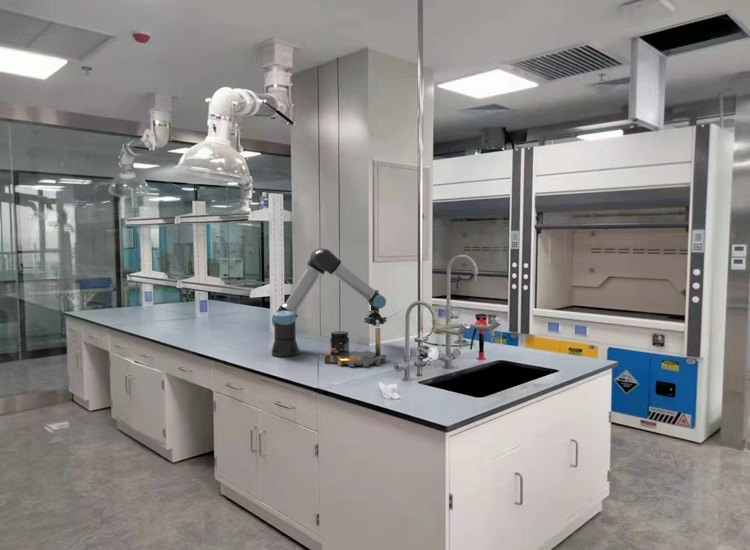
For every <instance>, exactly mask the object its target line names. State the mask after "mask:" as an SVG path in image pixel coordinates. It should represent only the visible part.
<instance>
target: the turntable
mask: <svg viewBox="0 0 750 550" xmlns="http://www.w3.org/2000/svg"><path fill="white" fill-rule="evenodd" d="M374 331H375V332H374V335H375V351H374V352H371V351H370V350H368V351H367V350H364V351H357V350H355V351H354V350H353V351H352V350H351V352H350V351H349V353H345V352H343V353H340V355H333V357H332V362H333V364H337V366H338V365H339V366H348V367H351V368H352V367H353V368H354V367H358V366H359V367H363V368H365V367H366V368H367V367H369V366H380V365H381V363H386V362H387V355H386V354H381V327H375V330H374Z"/></svg>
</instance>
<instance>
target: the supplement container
mask: <svg viewBox="0 0 750 550" xmlns="http://www.w3.org/2000/svg"><path fill="white" fill-rule="evenodd" d="M330 336H331V337H330V339H329V340H330V341H329V342H330V347H329V348H330V352H329V354H331V355H332V356H334V355H340V353H343V352H345V353H349V352H350V337H349V332H348V331H344V330H343V331H342V330H341V331H339V330H337V331H331V332H330Z"/></svg>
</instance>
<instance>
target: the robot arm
mask: <svg viewBox="0 0 750 550" xmlns="http://www.w3.org/2000/svg"><path fill="white" fill-rule="evenodd" d="M309 257H310V258H309V259H308V261H307V262H306V264H305V265H306V266H305V267H306V269H305V270H304V272H303V274H302V275H301V277H300V279H299V281H298V282H297V284H296V285H295V287H294V288H293V290H292V291H291V293H290V295H289V296H288V298H287V299H286V301H285V303H283V304H281V305H280V306H279V307H278V309H277V311H275V312H274V314H272V315H273V316H272V317H271V323H272V327H273V328H274V329H273V331H274V332H273V333H274V335H273V336H274V341H273V344H272V347H271V356H272V355H274V356H273V357H276V356H285V357H284V358H287V357H286V356H290V357H294V356H295V357H296V356H298V355H300V348H299V345H298V342H297V339H296V338H297V335H296V332H297V331H296V319H298V317H299V310H300V309H301V307H302V305H303V303H304V302H305V300H306V298H307V297H308V295H309V294H310V292H311V291H312V290H313V287H314V285H315V284H316V283H317V281H318V279H319V277H321V276H324V274H325V273H328V274H329V275H331V276H335V277H336V278H337V279H339V280H340V281H341V282H342V283H343V284H345V285H347V287H349V288H350V289H352V290H353V292H355V293H357V294H358V295H359V296H360V297H362V299H364V300H365V301H366V300H367V301H368V302H369V304H370V305H371V311H369V313H368V315H367V317H364V319H363V320H364V323H367V324H368V325H372V326H373V327H376V328H381V327H380V326H381V325H384V324H385V323H386V322H387V321H388V320H387V317H386V316H384V317H382V315H381V314H380V309H384V307H385V306H386V304H387V299H386V297H385V296H383V295H382V294H380V292H379V289H377V290H374V289H375V288H373V287H371V286H370V285H369V284H368V283H366V282H365V281H364V280H362V279H361V278H360V277H359V276H357V275H356V274H355V273H354V272H353V271H351V270H350V269H349V268H347V267H346V266H345V265H344V264H343V262H342V260H340V259H339V258H338V257H337V256H336V255H335V254H334V253H333V252H332V251H331V250H330V249H328V248H327V249H326V248H322V247H321V248H317V249H315V250H313V251H312V252H311V254H310V256H309Z"/></svg>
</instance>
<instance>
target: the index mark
mask: <svg viewBox="0 0 750 550" xmlns="http://www.w3.org/2000/svg"><path fill="white" fill-rule="evenodd" d="M331 355H332V354H331V353H324V364H331V363H332V362H331V359H332V358H331Z"/></svg>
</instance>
